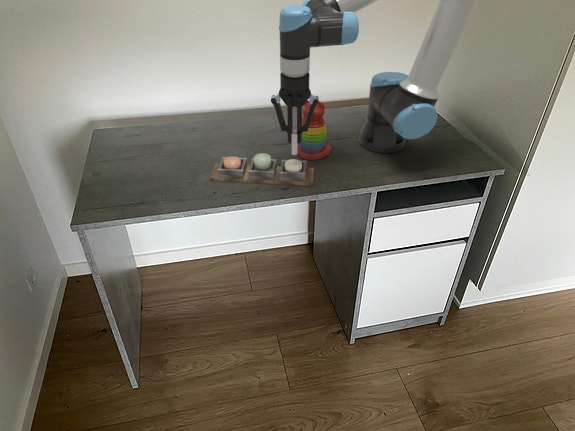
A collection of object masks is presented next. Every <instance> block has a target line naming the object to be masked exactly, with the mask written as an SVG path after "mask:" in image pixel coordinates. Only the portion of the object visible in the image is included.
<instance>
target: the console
mask: <svg viewBox="0 0 575 431" xmlns="http://www.w3.org/2000/svg"><path fill="white" fill-rule="evenodd" d="M227 157H228V156H222V157H221V160H220V162H219V163H215V164H214V167H213V169H212V171H211V175H210V181H213V182H228V183H229V182H230V183H231V182H232V183H233V182H234V183H250V184H251V183H252V184H253V183H254V184H270V185H275V184H276V185H293V186H310V187H311V186H314V176H315V175H314V174H315V167H307V160H300V161H301V162H302V173H301V172H285V162H286V161H287V160H288V159H281V162H280V166H279V165H277V159H276V158H274V159H273V158H271V168H270V169H269V170H267V171H259V170H256V169H255V168H254V157H253V158H251V160H250V164H248V159H247V157H239V158H240V160H241V170H238V169H224V159H225V158H227Z"/></svg>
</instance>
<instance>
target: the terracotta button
mask: <svg viewBox="0 0 575 431" xmlns="http://www.w3.org/2000/svg"><path fill="white" fill-rule="evenodd" d="M226 157H227V158H225V159H224V169H238V170H241V160H240V158H241V157H238V156H232V155H231V156H226Z"/></svg>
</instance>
